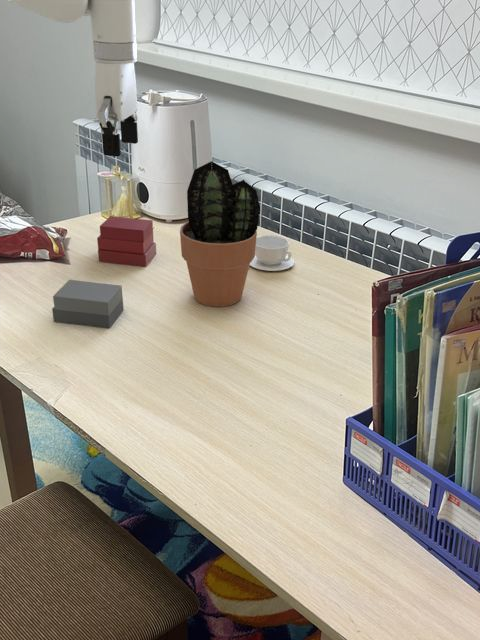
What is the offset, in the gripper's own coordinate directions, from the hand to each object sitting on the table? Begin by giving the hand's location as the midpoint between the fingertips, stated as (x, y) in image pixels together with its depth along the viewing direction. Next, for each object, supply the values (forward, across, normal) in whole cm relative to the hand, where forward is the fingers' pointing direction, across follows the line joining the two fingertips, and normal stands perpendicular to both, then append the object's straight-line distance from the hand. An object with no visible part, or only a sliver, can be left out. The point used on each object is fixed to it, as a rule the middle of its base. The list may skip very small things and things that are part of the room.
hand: (121, 149), depth 132 cm
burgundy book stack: (+22, 0, 0) cm, 22 cm away
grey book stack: (+22, +26, +2) cm, 34 cm away
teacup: (+22, -5, +29) cm, 37 cm away
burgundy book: (+17, 0, 0) cm, 17 cm away
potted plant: (+22, +13, +22) cm, 34 cm away
